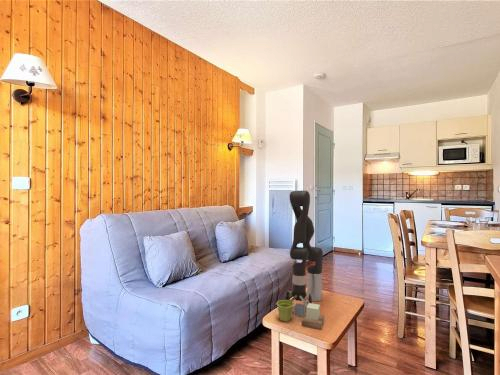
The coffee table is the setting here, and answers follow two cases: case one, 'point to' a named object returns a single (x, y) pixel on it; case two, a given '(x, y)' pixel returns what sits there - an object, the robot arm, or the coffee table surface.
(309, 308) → the sage block
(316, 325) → the walnut square pad
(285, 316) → the plant pot
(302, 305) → the slate block
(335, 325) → the coffee table surface
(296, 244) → the robot arm
